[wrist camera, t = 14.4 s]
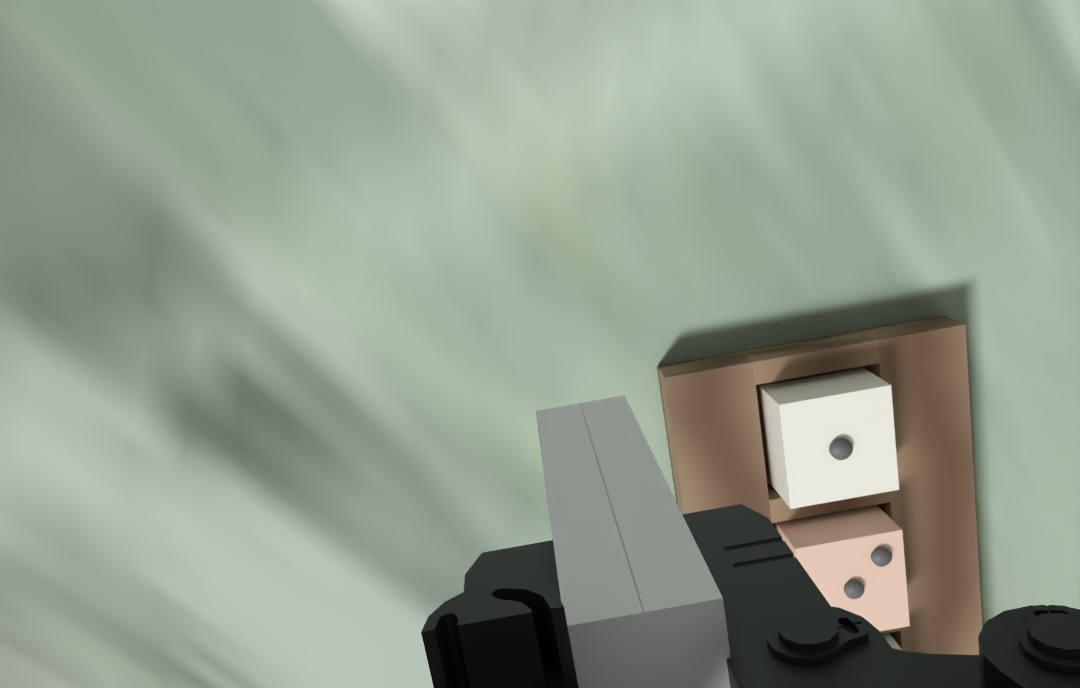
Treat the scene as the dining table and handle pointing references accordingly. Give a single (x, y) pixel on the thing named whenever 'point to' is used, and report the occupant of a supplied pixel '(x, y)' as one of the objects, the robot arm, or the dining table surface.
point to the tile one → (830, 437)
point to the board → (917, 507)
